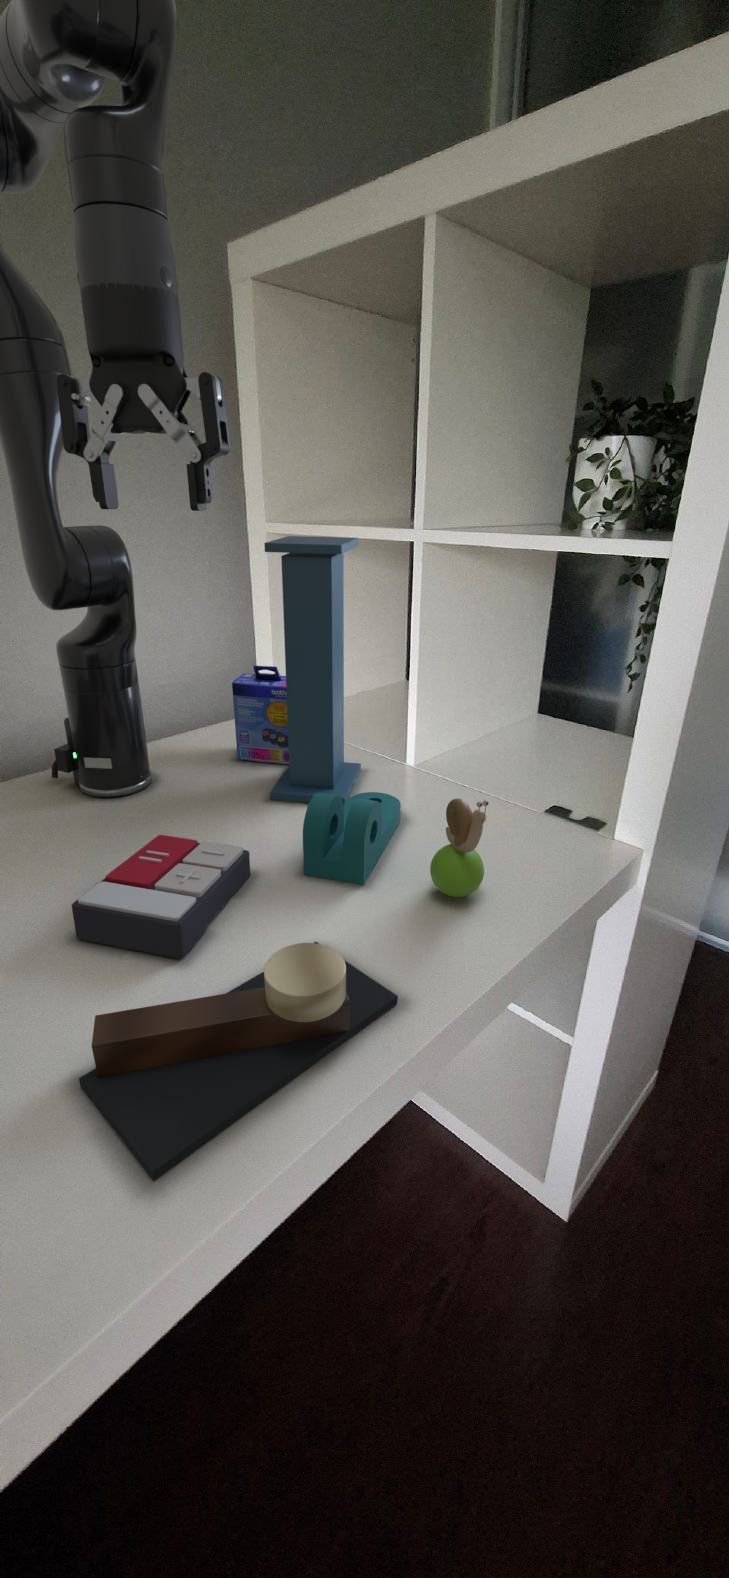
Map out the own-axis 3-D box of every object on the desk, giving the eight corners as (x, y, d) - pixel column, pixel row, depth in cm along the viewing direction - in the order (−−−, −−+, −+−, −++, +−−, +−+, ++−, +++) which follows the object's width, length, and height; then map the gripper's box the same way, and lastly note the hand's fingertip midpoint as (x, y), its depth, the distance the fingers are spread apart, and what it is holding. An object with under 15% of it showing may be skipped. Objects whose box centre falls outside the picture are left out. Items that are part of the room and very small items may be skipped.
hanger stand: (344, 806, 89) (344, 545, 76) (270, 800, 91) (257, 543, 77) (360, 770, 100) (363, 537, 87) (294, 765, 101) (286, 535, 88)
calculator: (250, 843, 72) (178, 917, 59) (252, 879, 74) (182, 959, 60) (157, 829, 75) (67, 897, 61) (160, 864, 76) (74, 938, 63)
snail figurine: (450, 917, 67) (458, 807, 62) (419, 884, 72) (425, 780, 67) (497, 905, 69) (509, 797, 64) (464, 874, 74) (472, 772, 69)
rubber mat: (153, 1181, 42) (152, 1172, 41) (80, 1086, 48) (78, 1077, 48) (397, 1003, 56) (398, 995, 56) (316, 948, 62) (315, 941, 62)
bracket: (363, 885, 72) (364, 818, 69) (303, 874, 74) (301, 808, 71) (405, 812, 88) (408, 755, 84) (355, 804, 89) (355, 748, 86)
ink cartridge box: (235, 761, 103) (228, 665, 97) (248, 748, 108) (242, 656, 102) (298, 766, 101) (295, 670, 95) (309, 753, 106) (306, 660, 100)
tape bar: (96, 1095, 46) (83, 1034, 44) (102, 1032, 52) (91, 974, 49) (354, 1045, 51) (354, 987, 48) (336, 991, 56) (335, 937, 54)
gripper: (231, 299, 57) (243, 509, 64) (73, 303, 59) (101, 506, 66) (196, 275, 50) (214, 513, 57) (19, 281, 52) (56, 510, 59)
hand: (153, 509), depth 61 cm, fingers open, 8 cm apart
